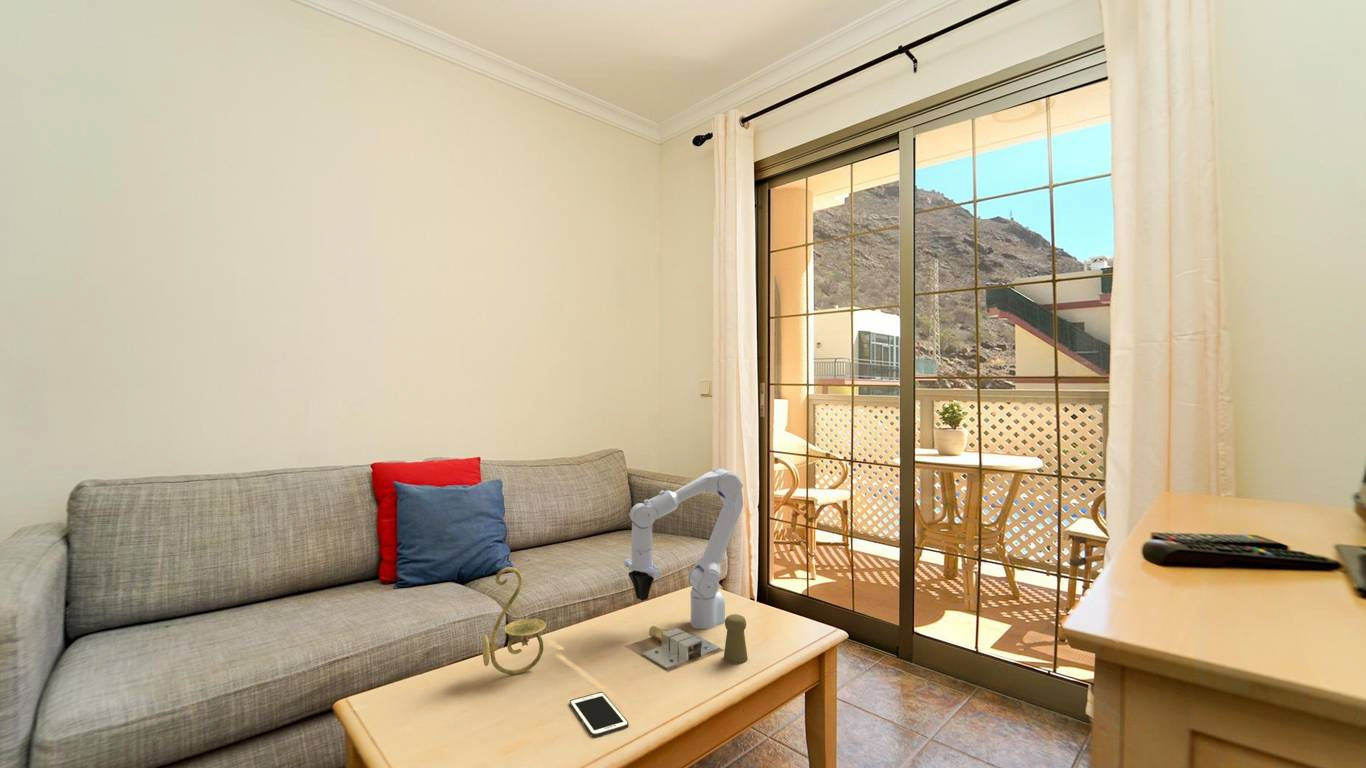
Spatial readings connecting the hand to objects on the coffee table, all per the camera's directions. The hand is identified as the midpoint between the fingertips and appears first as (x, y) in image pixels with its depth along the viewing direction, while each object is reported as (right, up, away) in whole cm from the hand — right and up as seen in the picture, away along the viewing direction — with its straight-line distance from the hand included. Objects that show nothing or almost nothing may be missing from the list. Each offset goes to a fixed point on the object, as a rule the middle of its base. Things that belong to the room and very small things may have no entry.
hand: (642, 598), depth 159 cm
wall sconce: (-28, -9, -23) cm, 37 cm away
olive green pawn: (+24, -9, -17) cm, 31 cm away
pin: (+6, -9, -8) cm, 13 cm away
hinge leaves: (+11, -8, -13) cm, 19 cm away
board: (+9, -9, -11) cm, 17 cm away
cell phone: (-6, -9, -40) cm, 42 cm away
